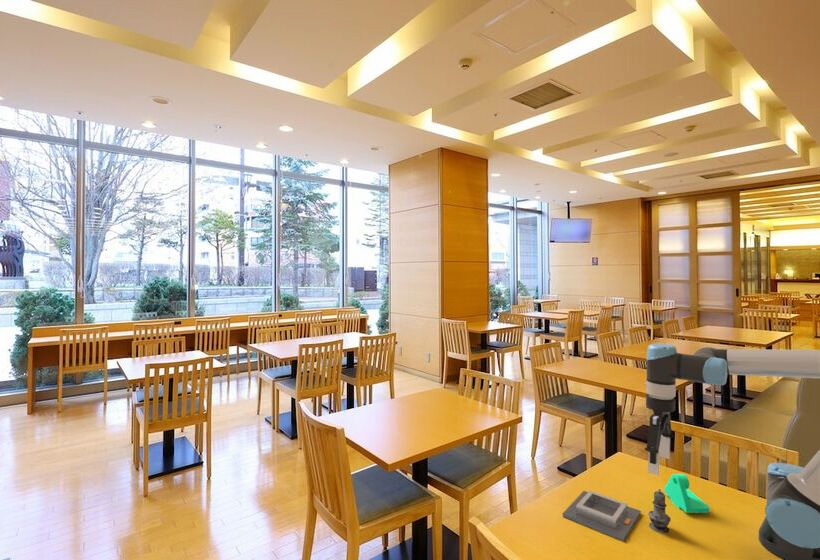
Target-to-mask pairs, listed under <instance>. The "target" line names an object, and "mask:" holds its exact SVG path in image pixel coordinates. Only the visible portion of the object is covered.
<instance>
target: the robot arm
mask: <svg viewBox="0 0 820 560" xmlns="http://www.w3.org/2000/svg"><path fill="white" fill-rule="evenodd" d="M646 352H647V354H646V381H645V382H644V386H646V391H645V392H646V396H645V405H646V407H647V408H648V409H650V410H652V411H653V413H652V414H651V415H650V417H649V425H648V433H647V434H648V435H647V441H646V446H645V448H644V450H645V451H646V452H648V453H647V456H648V457H647V458H648V459H647V462H648V463H647V473H650V474H652V475H655V476H659V475H660V457H661V458H663V459H667V460H670V458H671V457H670V456H671V455H670V453H671V438H674V434H673V433H672V432H673V429H672V423H671V422H672V421H671V413H673V412H675V411H676V399H675V397H676V393H677V390H676V389H677V388H676V387H677V386H676V385H677V383H676V381H677V380H683V381H689V382H695V383H700V384H705V385H709V386H712V385H716V386H724V385H726V383H727V379H728V375H729V376H731V375H733V376H754V377H755V376H756V377H777V378H780V377H781V378H796V379H797V378H799V379H800V378H801V379H820V349H758V348H757V349H753V348H752V349H748V348H747V349H744V348H742V349H741V348H738V349H737V348H735V349H733V348H732V349H731V348H727V349H726V348H716V347H715V348H714V347H711V346H707V347H706V346H705V347H701V348H699V349H697V350H696V351H695V352H694V354H688V353H687V354H686V353H679V352H678V351H677V347H676V346H674V345H673V344H667V343H651V344H649V345H648V346H647V351H646ZM676 379H677V380H676ZM766 473H767V488H766V489H767V490H766V503H765V504H766V505H765V508H764V510H765V511H764V512H765V517H764V519H763V521H762V523H761V525H760V527H759V529H758V540H759V543H760V545H762V547H764V549H766V550H767V551H768V552H770V553H771V554H773V555H774V556H777V557H779V558H780V559H782V560H784V559H785V560H820V449H819V450H818V451H817V452H816V453H815V455H814V456H813V457H812V458H811V459H810V461H808V463H807V464H806V465H805V466H804V467H802V466H799V465H794V464H791V463H790V464H789V463H784V462H771V463H770V464H769V465H768V466H767V471H766Z"/></svg>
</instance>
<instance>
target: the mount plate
mask: <svg viewBox="0 0 820 560" xmlns="http://www.w3.org/2000/svg"><path fill="white" fill-rule="evenodd" d="M641 515H642V511H641V510H639V509H637V508H633V507H631V506H629V504H628V503H626V502H624V501H622V500H621V501H620V500H618V499H616V498H612V497H609V496H607V495H604V494H601V493H598V492H595V491H592V490H589V491H586V490H583V491H582V492H581V493H580V494H579V495H578V496H577V497H576V499H575V500H574V501H573V502H572V503H571V504H570V505H569V506H568V507H567V508H566V509H565V511H563V513H562V517H563V518H565V519H567V520H570V521H572V522H575V523H578V524H580V525H582V526H585V527H587V528H589V529H592V530H594V531H597V532H600V533H602V534H604V535H606V536H609V537H611V538H614V539H617V540H619V541H621V542H625V541H626V539H627V537H628V536H629V534H630V532H631V531H632V529H633V527H634V526H635V524H636V523H637V521H638V520H639V518H640V516H641Z"/></svg>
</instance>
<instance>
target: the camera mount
mask: <svg viewBox="0 0 820 560" xmlns="http://www.w3.org/2000/svg"><path fill="white" fill-rule="evenodd" d="M664 486H665V487H664V494H666V495H667V496H668V497H669V498H670V501H671V502H672V504H674V506H675V507H677V508H678V509H679V510H683V512H685V513H686V514H687V513H688V514H693V513H694V514H709V513H710V506H709V505H708V504H707V503H705V502H704V501H703V500H702V499H701V498H700V497H698V496H697V495H696V493H695V494H694V492H692V490H691V489H690V480H689V478H688V476H687V475H686V474H684V473H673V474H671V476H670V478H669V479H668V481H667V483H666V485H664Z"/></svg>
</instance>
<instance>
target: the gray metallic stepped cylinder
mask: <svg viewBox="0 0 820 560" xmlns="http://www.w3.org/2000/svg"><path fill="white" fill-rule="evenodd" d="M652 505H653V510H650V511H648V514H647V515H648V517H649V520H650V523H649V524H648V525H649V526H648V527H649V528H650V529H651V530H653V531H654V532H657V533H659V534H668V533H670V528H669V525H670V522H671V521H672V520H671V519H672V518H671V517H670V516H669V514H666V508H667V504H666V495H665V492H663V491H662V489H660V488H659V489H658V490H656V491H654V493H653V501H652Z"/></svg>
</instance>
